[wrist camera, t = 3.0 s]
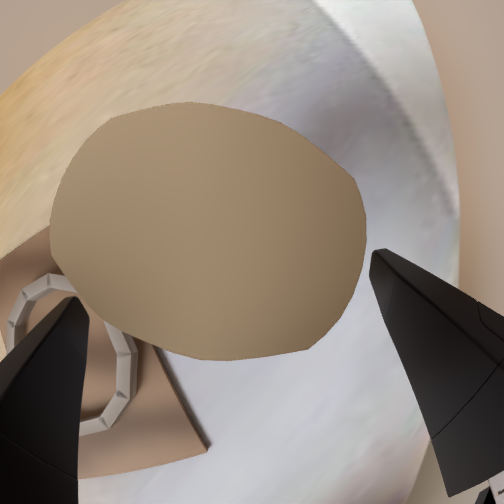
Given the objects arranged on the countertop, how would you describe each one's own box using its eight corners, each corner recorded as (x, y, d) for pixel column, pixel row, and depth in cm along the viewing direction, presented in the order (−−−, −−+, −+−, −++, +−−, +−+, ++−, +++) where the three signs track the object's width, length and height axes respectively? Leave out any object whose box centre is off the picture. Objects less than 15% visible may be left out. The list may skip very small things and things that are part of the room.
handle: (204, 233, 21) (109, 90, 6) (295, 261, 20) (384, 154, 6) (180, 301, 20) (25, 282, 5) (273, 331, 20) (321, 398, 5)
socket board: (208, 449, 18) (204, 460, 16) (70, 478, 17) (60, 486, 16) (102, 198, 21) (91, 190, 20) (-10, 270, 21) (-23, 268, 19)
